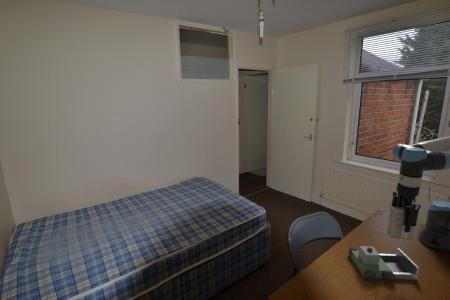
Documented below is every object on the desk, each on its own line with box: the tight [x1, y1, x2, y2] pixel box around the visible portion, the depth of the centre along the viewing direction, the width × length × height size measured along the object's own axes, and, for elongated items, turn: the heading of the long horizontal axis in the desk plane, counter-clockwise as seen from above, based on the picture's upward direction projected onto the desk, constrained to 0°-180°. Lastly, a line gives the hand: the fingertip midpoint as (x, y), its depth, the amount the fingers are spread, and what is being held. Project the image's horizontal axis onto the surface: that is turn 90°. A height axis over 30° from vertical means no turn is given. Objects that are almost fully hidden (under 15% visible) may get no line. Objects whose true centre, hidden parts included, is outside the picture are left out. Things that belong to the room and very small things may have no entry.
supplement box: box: [386, 206, 416, 240], centre depth 101 cm, size 8×5×13 cm, turn 79°
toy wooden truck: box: [347, 245, 396, 282], centre depth 106 cm, size 12×16×10 cm
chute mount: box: [379, 247, 420, 281], centre depth 105 cm, size 11×13×6 cm
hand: (399, 233), depth 102 cm, fingers closed on supplement box, 5 cm apart
